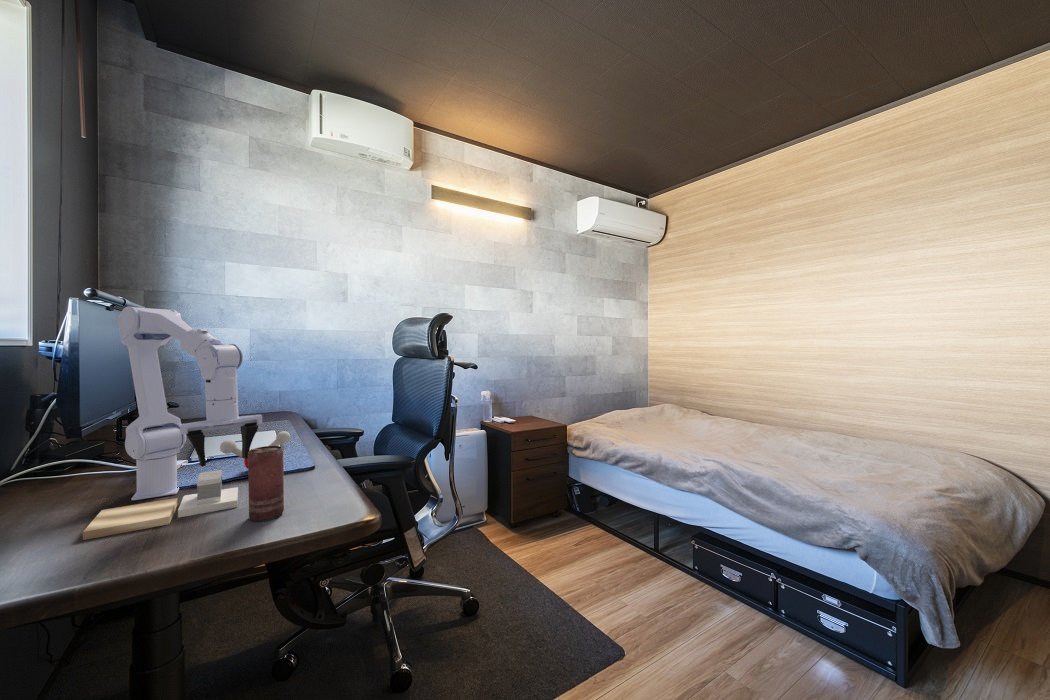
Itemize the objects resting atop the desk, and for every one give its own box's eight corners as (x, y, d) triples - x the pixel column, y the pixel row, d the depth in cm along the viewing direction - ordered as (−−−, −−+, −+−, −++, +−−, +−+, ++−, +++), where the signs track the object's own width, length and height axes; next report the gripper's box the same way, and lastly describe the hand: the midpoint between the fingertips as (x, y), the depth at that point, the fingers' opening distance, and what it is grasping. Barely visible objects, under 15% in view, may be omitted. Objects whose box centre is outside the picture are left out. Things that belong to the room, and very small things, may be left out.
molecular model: (224, 480, 108) (223, 442, 108) (215, 476, 112) (215, 439, 111) (293, 464, 123) (293, 430, 123) (284, 461, 126) (284, 428, 126)
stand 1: (102, 517, 86) (101, 509, 86) (177, 504, 92) (177, 497, 92) (82, 540, 76) (82, 531, 76) (169, 524, 82) (169, 516, 82)
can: (250, 513, 88) (250, 446, 87) (285, 508, 90) (284, 443, 90) (244, 524, 82) (243, 453, 82) (281, 519, 85) (280, 450, 84)
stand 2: (184, 502, 94) (183, 495, 94) (238, 493, 99) (238, 487, 99) (177, 517, 85) (177, 510, 85) (237, 507, 91) (237, 500, 91)
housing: (200, 494, 94) (200, 472, 94) (222, 491, 96) (221, 469, 96) (197, 504, 88) (196, 481, 88) (220, 500, 90) (220, 477, 90)
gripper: (182, 404, 83) (185, 472, 83) (265, 396, 94) (267, 456, 94) (177, 402, 88) (180, 466, 88) (256, 395, 99) (259, 452, 99)
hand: (224, 461), depth 91 cm, fingers open, 7 cm apart
